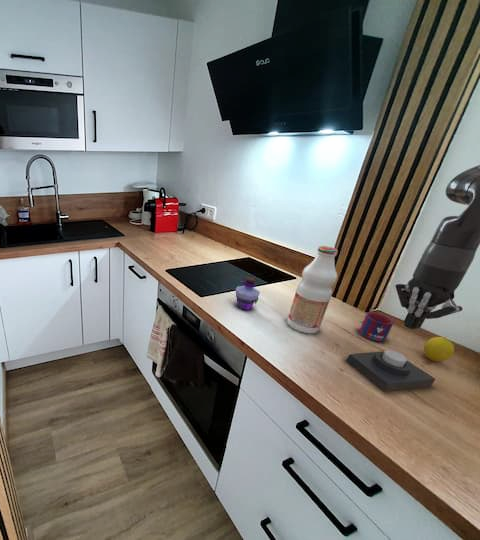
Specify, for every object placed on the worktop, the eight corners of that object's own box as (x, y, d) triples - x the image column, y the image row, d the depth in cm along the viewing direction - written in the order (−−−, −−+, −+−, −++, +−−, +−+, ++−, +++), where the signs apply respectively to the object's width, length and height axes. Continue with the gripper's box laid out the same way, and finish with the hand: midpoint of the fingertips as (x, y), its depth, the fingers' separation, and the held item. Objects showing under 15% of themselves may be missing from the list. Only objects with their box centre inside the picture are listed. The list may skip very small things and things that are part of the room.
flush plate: (388, 357, 83) (394, 345, 81) (430, 386, 73) (439, 373, 71) (346, 361, 81) (351, 348, 79) (383, 391, 71) (391, 378, 69)
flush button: (391, 355, 78) (394, 349, 77) (408, 366, 74) (411, 360, 73) (377, 356, 77) (380, 350, 76) (393, 368, 73) (397, 362, 72)
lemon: (446, 369, 79) (461, 346, 76) (419, 360, 82) (431, 337, 79) (444, 360, 83) (458, 337, 80) (418, 351, 86) (430, 329, 83)
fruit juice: (296, 334, 93) (323, 253, 82) (281, 318, 101) (303, 243, 90) (324, 334, 93) (355, 254, 82) (307, 318, 101) (332, 244, 90)
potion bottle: (259, 314, 103) (266, 284, 99) (234, 311, 105) (240, 282, 100) (253, 302, 111) (259, 274, 106) (230, 300, 112) (235, 272, 108)
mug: (361, 338, 92) (369, 320, 89) (355, 322, 100) (362, 306, 97) (387, 344, 89) (396, 326, 86) (379, 328, 97) (387, 311, 94)
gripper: (496, 275, 59) (454, 343, 66) (424, 253, 71) (396, 312, 78) (466, 276, 58) (427, 345, 65) (399, 253, 70) (372, 314, 77)
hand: (410, 327), depth 71 cm, fingers closed
